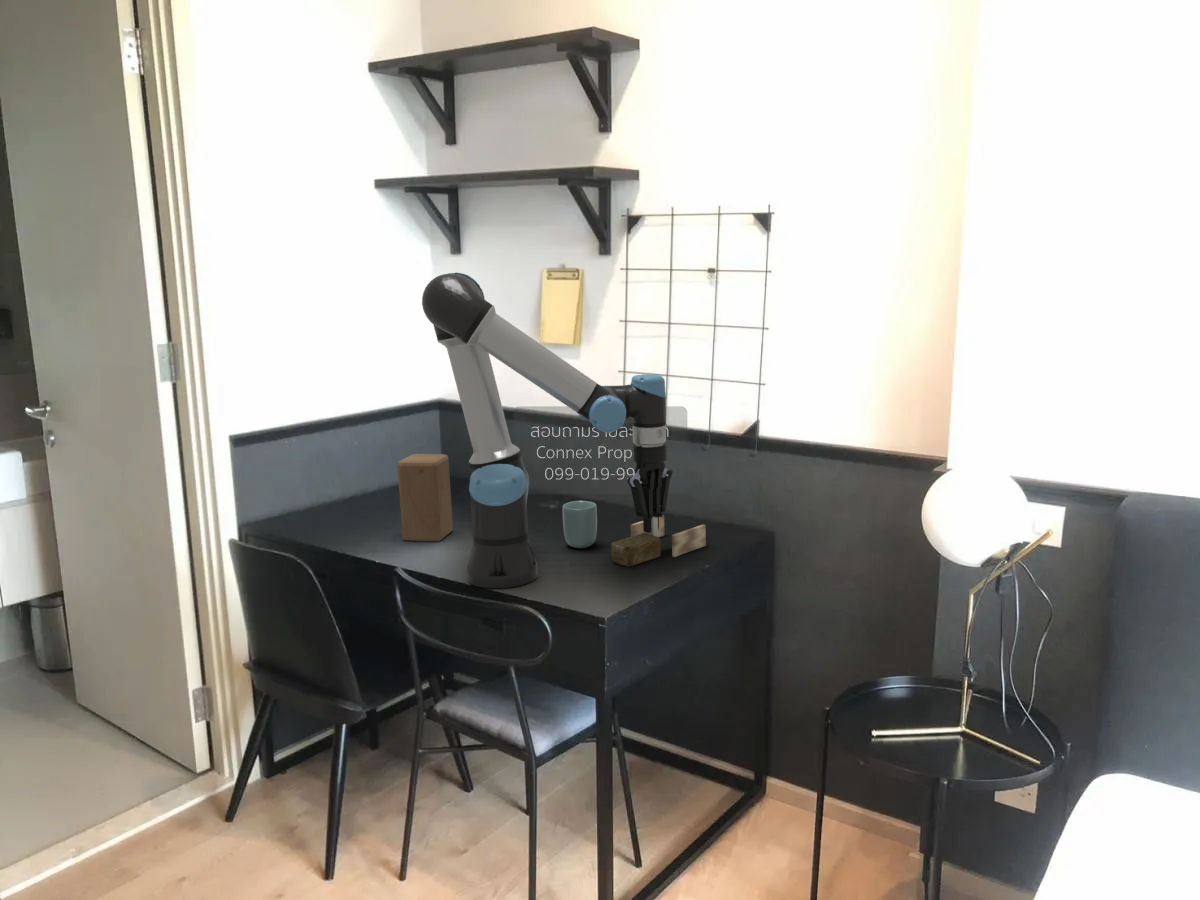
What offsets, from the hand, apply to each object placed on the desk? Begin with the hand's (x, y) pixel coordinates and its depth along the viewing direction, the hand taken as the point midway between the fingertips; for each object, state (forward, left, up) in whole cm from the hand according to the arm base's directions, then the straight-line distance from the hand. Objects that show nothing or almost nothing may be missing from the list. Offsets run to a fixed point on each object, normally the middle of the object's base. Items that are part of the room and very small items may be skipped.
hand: (651, 544), depth 211 cm
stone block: (-7, -1, -2) cm, 7 cm away
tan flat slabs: (+6, 0, -2) cm, 6 cm away
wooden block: (-27, +50, -2) cm, 57 cm away
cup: (-8, +15, -2) cm, 17 cm away
